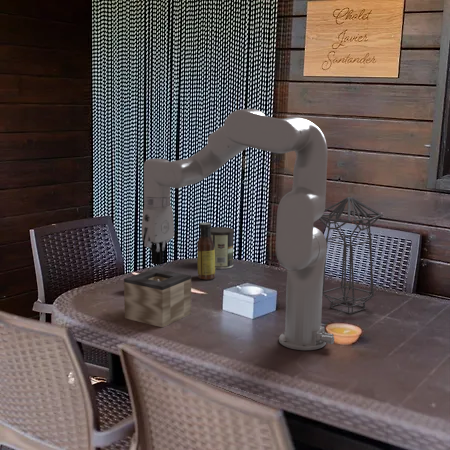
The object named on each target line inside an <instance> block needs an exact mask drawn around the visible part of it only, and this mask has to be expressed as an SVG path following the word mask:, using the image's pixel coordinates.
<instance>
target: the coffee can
mask: <svg viewBox="0 0 450 450" xmlns="http://www.w3.org/2000/svg"><path fill="white" fill-rule="evenodd" d="M210 231H211V237H212V240H213V243H214V247H215V270H226V269H232V268H233V267H234V242H235V241H234V238H235V237H234V235H235V234H234V232H235V229H234V228H232V227H227V226H214V227H211V228H210Z"/></svg>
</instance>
